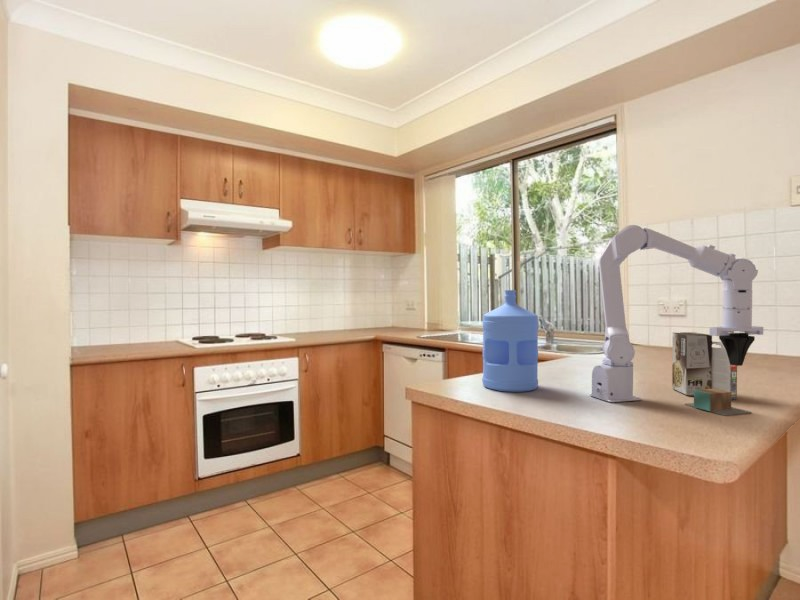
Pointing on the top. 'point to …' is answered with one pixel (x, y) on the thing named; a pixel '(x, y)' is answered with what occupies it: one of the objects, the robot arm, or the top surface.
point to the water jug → (510, 347)
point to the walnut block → (712, 399)
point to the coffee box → (691, 362)
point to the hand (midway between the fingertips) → (736, 365)
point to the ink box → (723, 371)
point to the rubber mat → (725, 412)
